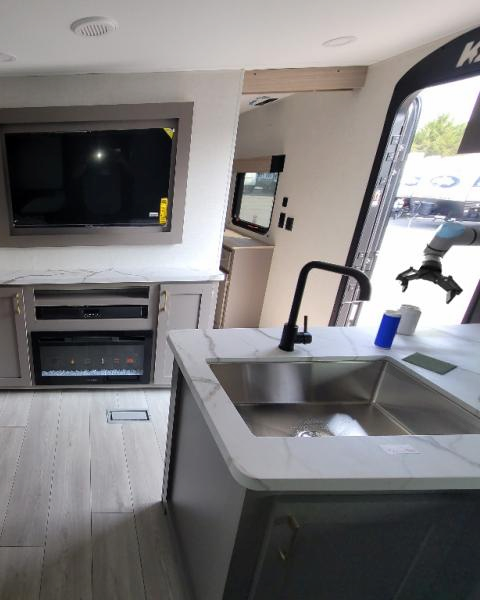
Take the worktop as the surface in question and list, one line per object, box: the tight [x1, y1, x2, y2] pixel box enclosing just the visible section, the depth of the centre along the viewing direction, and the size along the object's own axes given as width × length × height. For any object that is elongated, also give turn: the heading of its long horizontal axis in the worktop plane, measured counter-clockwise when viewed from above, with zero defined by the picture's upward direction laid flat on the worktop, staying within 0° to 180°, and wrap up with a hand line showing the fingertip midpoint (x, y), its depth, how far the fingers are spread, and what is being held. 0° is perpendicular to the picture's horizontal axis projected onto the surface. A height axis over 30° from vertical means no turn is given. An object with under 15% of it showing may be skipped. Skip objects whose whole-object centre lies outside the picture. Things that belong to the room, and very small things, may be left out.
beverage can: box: [373, 309, 402, 350], centre depth 128 cm, size 5×5×15 cm
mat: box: [401, 351, 458, 375], centre depth 118 cm, size 11×11×1 cm
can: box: [395, 303, 422, 336], centre depth 139 cm, size 8×8×12 cm
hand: (426, 295), depth 132 cm, fingers open, 13 cm apart
